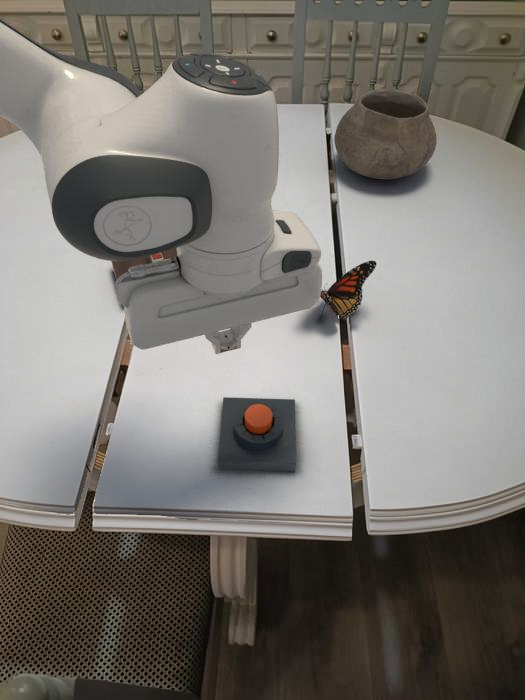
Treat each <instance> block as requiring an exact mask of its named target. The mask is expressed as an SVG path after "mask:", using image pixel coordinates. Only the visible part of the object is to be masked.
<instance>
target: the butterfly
mask: <svg viewBox="0 0 525 700" xmlns="http://www.w3.org/2000/svg"><path fill="white" fill-rule="evenodd" d="M376 267H377V262H376V260H368V261H365V262H362V263H360V264H358V265H356V266H355V267H353V268H351V269H350V270H348V271H347V272H346V273H344V274H343V275H342V276H341V277H339V278H338V279H337V280H336V281H335V282H334V283H333V284H332V285H331V286H330V287H329V288H328V289H327V290H326V286H327V285H328V282H326V284H325V285H324V287H323V288H324V289H322V288H321V295H320V299H321V300H322V301H324V305H323V308H322V311H321V312H322V313H321V315H320V316H319V317H320V318H319V320H321V318H322V316H323V313H324V310H325V307H328V309H329V310H330V311H331V313H332V314H333V315H334V316H335V317H336V318H337V320H340V319H342V320H345V319H348V318H350V317H351V316H353V315H354V314H355V312H356V311H357V310H358V308H359V307H360V306H361V305H362V301H363V298H364V296H363V286H364V284H365V282H366V280H367V279H368V278H369V277H370V276H371V275H372V273H373V272H374V271H375V270H376ZM339 317H340V318H339Z"/></svg>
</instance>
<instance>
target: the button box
mask: <svg viewBox="0 0 525 700" xmlns="http://www.w3.org/2000/svg"><path fill="white" fill-rule="evenodd" d="M255 404H262V405H265V406H267V407H268V408H269V409H270V410H271V411H272V415H273V417H272V426H271V428H270V429H269V430H268V431H267V432H266V433H263V434H254V433H251V432H250V431H249V430H248V429H247V428H246V426H245V412H246V410H247V409H248V408H249V407H250V406H252V405H255ZM221 410H222V411H221V418H220V419H221V420H220V432H219V441H218V442H219V443H218V455H217V467H218V470H223V471H224V470H229V471H230V470H231V471H260V472H261V471H262V472H263V471H264V472H296V469H297V463H298V461H297V429H296V424H297V423H296V422H297V421H296V399H294V398H293V399H291V398H261V397H229V396H227V397H222V407H221Z"/></svg>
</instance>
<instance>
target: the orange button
mask: <svg viewBox="0 0 525 700" xmlns="http://www.w3.org/2000/svg"><path fill="white" fill-rule="evenodd" d="M272 417H273V415H272V411H271V410H270V409H269V408H268V407H267V406H265V405H262V404H255V405H252V406H250V407H249V408H248V409H247V410H246V412H245V426H246V428H247V429H248V430H249V431H250V432H251V433H254V434H263V433H266V432H267V431H268V430H269V429H270V428H271V426H272Z"/></svg>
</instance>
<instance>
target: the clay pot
mask: <svg viewBox="0 0 525 700" xmlns="http://www.w3.org/2000/svg"><path fill="white" fill-rule="evenodd" d="M333 138H334V139H333V140H334V147H335V150H336V153H337V156H338V157H339V158H340V160H341V161H342V163H343V164H344V165H345V166H346V167H347V168H349V170H351V171H353V172H355V173H356V174H359V175H360V176H364V177H367V178H372V179H375V180H395V179H397V180H398V179H401V178H404V177H407V176H411V175H413V174H414V173H416V172H417V171H419V170H421V169H422V168H424V167H425V166H426V165H427V164H428V162H429V161H430V160H431V159H432V158H433V156H434V153H435V151H436V147H437V144H438V143H437V131H436V128H435V125H434V123H433V121H432V119H431V117H430V107H429V105H428V103H427V102H426V100H425V99H424V98H422V97H421V96H419V95H417V94H415V93H413V92H410V91H407V90H401V89H398V88H379V89H378V88H377V89H372V90H368V91H366V92H364V93H362V94H361V95H360V96H359V97H358V99H357V100H356V101H355V103H354V104H353V105H352V106H351V107H350V108H349V109H348V110H347V111H346V112H345V113H344V114H343V115H342V117H341V118H340V120H339V122H338V124H337V126H336V129H335V133H334V137H333Z"/></svg>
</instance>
